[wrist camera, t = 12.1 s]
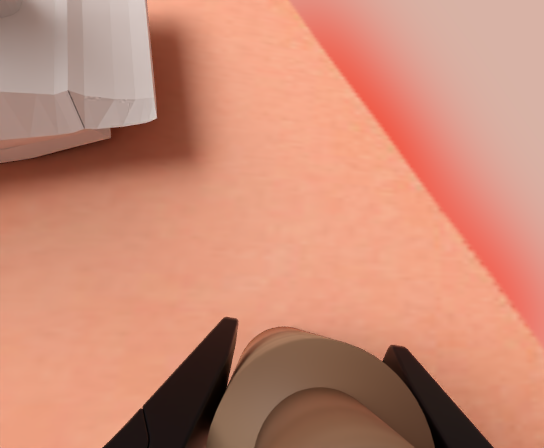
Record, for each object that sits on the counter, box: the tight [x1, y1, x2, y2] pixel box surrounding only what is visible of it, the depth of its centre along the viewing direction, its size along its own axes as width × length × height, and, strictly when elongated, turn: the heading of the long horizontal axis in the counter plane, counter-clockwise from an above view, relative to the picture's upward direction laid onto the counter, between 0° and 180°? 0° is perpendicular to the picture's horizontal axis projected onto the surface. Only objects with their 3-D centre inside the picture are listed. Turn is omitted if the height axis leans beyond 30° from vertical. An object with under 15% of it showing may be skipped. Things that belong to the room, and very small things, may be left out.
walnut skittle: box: [206, 327, 435, 448], centre depth 9 cm, size 4×4×12 cm
